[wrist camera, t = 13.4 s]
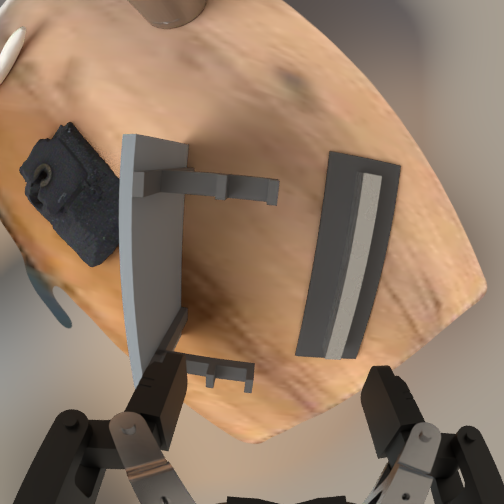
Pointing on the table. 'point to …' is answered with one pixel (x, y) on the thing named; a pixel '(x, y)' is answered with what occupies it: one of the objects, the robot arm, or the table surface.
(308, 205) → the table surface
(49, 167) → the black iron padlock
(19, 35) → the banana
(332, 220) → the mat
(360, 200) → the rail
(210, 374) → the rail stand
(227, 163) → the table surface
